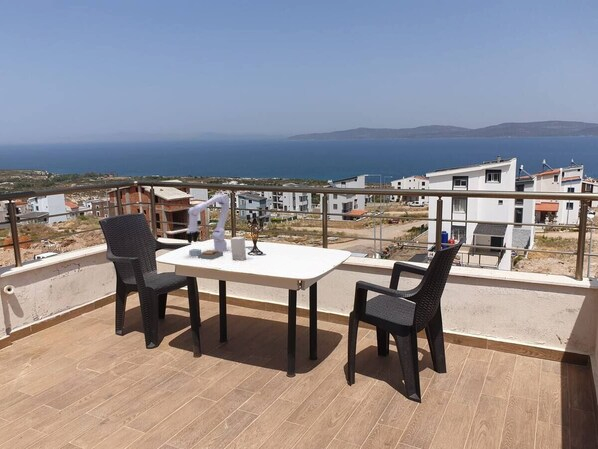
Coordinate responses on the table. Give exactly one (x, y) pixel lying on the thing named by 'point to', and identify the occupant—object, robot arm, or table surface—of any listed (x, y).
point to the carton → (194, 252)
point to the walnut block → (210, 252)
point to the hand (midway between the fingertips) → (192, 242)
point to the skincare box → (238, 248)
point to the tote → (210, 256)
